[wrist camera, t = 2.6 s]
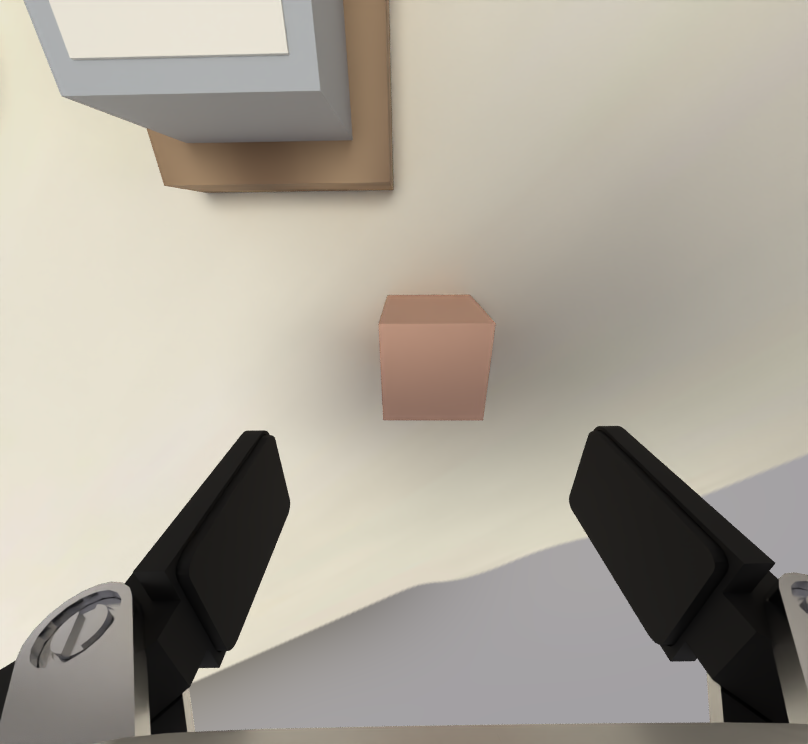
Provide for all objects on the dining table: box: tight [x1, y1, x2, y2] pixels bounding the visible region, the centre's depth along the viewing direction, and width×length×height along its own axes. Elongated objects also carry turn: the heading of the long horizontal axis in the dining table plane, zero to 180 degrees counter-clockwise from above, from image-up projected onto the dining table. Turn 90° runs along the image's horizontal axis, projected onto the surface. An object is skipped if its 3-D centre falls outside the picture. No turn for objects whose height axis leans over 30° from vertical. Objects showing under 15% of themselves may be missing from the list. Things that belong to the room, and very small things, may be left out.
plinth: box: [147, 0, 393, 193], centre depth 12 cm, size 10×10×3 cm
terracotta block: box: [379, 295, 496, 420], centre depth 17 cm, size 5×5×6 cm
